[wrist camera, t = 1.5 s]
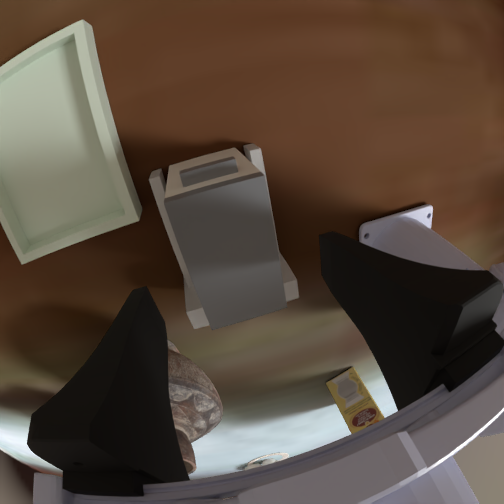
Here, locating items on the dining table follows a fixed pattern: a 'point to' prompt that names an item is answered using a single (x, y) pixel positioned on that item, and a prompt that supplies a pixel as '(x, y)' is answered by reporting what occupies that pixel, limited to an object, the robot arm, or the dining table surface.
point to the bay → (191, 297)
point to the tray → (60, 148)
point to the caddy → (226, 236)
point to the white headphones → (265, 462)
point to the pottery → (191, 403)
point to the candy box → (354, 401)
